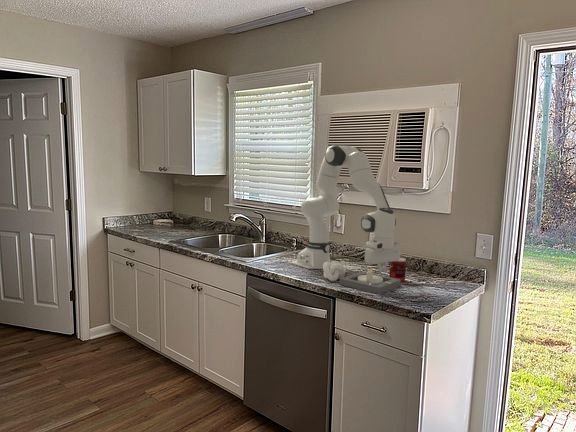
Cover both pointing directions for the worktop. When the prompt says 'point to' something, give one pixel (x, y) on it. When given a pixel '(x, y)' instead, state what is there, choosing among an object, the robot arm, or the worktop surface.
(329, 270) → the white decorative knot
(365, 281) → the dial
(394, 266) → the canned food
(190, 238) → the worktop surface
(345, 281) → the panel
